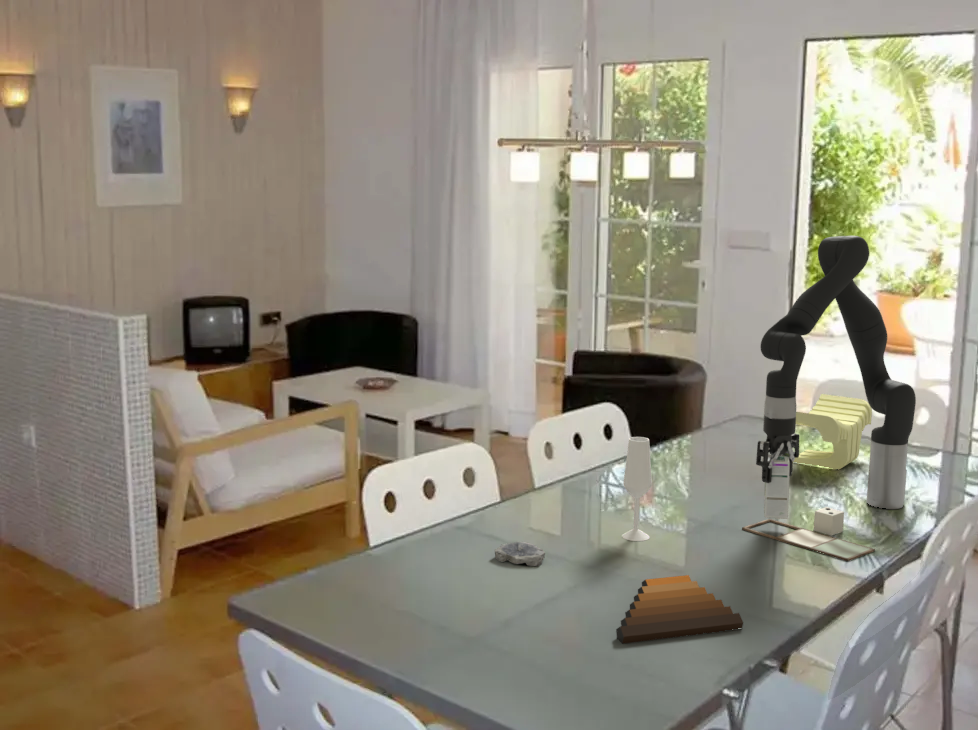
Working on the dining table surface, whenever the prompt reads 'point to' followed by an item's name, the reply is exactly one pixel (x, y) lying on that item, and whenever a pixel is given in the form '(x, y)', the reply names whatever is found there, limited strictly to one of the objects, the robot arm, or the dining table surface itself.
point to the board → (816, 542)
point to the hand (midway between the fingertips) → (776, 479)
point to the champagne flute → (637, 480)
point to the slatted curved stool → (836, 429)
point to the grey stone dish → (520, 553)
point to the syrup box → (778, 490)
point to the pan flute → (674, 611)
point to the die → (828, 521)
